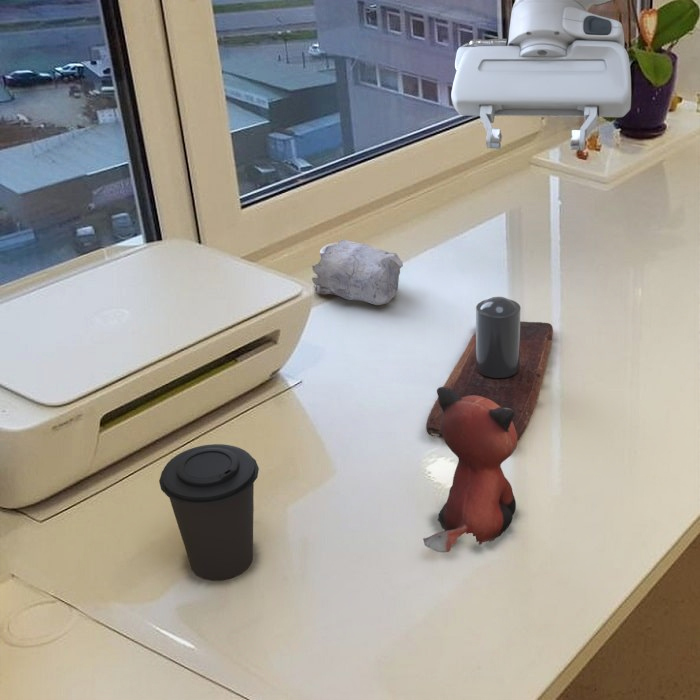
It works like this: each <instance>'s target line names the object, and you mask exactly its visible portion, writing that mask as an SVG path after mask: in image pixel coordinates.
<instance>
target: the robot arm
mask: <svg viewBox="0 0 700 700" xmlns="http://www.w3.org/2000/svg"><path fill="white" fill-rule="evenodd" d="M611 2H615V0H515V1H514V3H513V6H512V7H511V14H510V21H509V30H508V38H491V39H481V38H474V39H470V40H469V42H466V43H464V44H462V45H461V46H460V47H458V48H457V51H456V53H455V58H454V59H455V61H454V68H455V70H456V71H455V75H454V78H453V82H452V88H451V92H450V93H451V94H450V97H451V103H452V106H453V108H454V109H455V111H456V112H457V113H458V114H459V115H460V116H464V117H466V116H469V117H470V116H471V117H472V116H473V117H480V118H479V119H480V121H481V125H482V126H483V127H484V130H485V133H486V138H485V145H486V148H487V149H494V150H495V149H499V150H500V149H501V146H502V144H501V142H502V140H503V139H502V137H503V135H502V132H501V128H494V127H493V125H492V124H493V123H494V122H495V117H547V118H548V117H550V118H551V117H553V118H557V117H558V118H559V117H560V118H563V117H564V118H568V117H569V118H583V120H584V122H583V124H582V125H581V126H580V128H579V129H572V130H571V136H570V137H571V138H570V150H571V151H585V149H586V139H587V138H588V137H589V135H590V134H591V133H592V131H593V130H594V129H595V128H596V126H597V125H598V120H599V119H598V118H623V117H625V116H626V115H627V114H628V113H629V112H630V111H631V107H632V75H631V73H632V72H631V63H630V57H629V53H628V51H627V49H626V48H625V32H624V28H623V25H622V23H621V22H620V21H619V20H616V19H613V18H610V17H605V16H601V15H598V14H594V13H591V12H588V11H589V9H590V8H591V7H592V6H601V5H605V4H608V3H611Z"/></svg>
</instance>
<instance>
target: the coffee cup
mask: <svg viewBox="0 0 700 700" xmlns="http://www.w3.org/2000/svg"><path fill="white" fill-rule="evenodd" d="M259 471H260V468H259V465H258V463H257V460H256V459H255V458H254V457H253V456H252V455H251V454H250V453H249V452H248V451H247V450H245V449H243V448H240V447H239V446H235V445H230V444H225V443H224V444H222V443H215V444H205V445H200V446H199V445H198V446H194V447H191V448H189V449H185V450H183V451H182V452H180V453H178V454H176V455H175V456H174V457H172V458H171V459H170V460H169V461H168V462H167V463H166V464H165V466H164V467H163V470H162V471H161V473H160V477H159V479H158V483H159V487H160V490H161V491H162V493H164V494H165V495H166V496H167V497H168V499H169V502H170V505H171V508H172V511H173V514H174V516H175V521H176V524H177V527H178V530H179V534H180V536H181V540H182V543H183V546H184V550H185V553H186V555H187V559H188V562H189V565H190V568H191V569H190V570H191V571H192V572H193V573H194V575H196V576H197V577H199V578H201V579H204V580H208V581H225V580H228V579H229V580H230V579H233V578H236V577H238V576H240V575H242V574H243V573H244V572H245V571H247V570H248V569H249V568H250V566H251V565H252V563H253V557H254V492H255V491H254V489H255V488H254V486H255V485H254V483H255V481H256V480H257V479H258V475H259Z"/></svg>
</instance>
